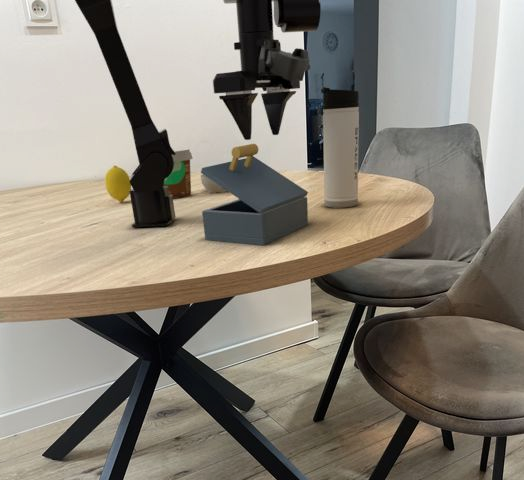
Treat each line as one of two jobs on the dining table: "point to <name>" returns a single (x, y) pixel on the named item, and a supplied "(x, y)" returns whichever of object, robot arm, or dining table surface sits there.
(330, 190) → the travel mug
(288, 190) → the lid
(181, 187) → the food container
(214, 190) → the saucepan
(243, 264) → the dining table surface
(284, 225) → the box
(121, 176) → the lemon
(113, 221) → the dining table surface
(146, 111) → the robot arm
